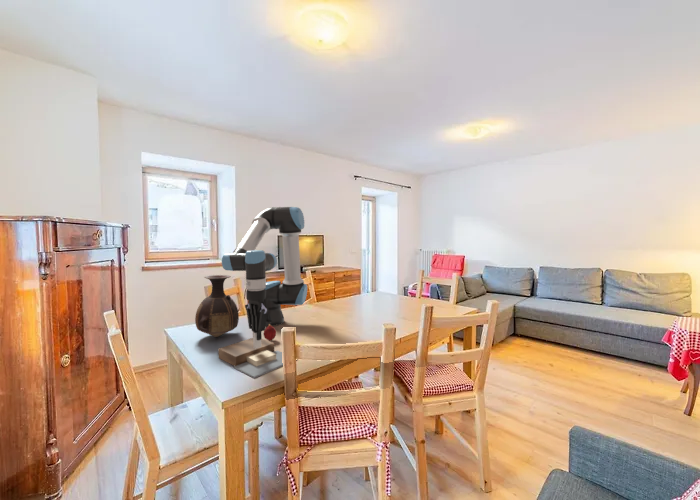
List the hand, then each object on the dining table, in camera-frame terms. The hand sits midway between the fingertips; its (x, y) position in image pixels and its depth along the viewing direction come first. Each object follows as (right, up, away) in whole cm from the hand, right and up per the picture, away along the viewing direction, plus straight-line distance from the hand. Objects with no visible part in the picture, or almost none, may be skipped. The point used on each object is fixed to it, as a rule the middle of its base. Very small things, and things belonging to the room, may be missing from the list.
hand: (257, 347), depth 123 cm
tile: (+2, -5, -1) cm, 5 cm away
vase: (-27, -4, +28) cm, 39 cm away
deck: (-6, -5, +5) cm, 9 cm away
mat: (+5, -5, -3) cm, 8 cm away
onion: (0, -4, +21) cm, 22 cm away
